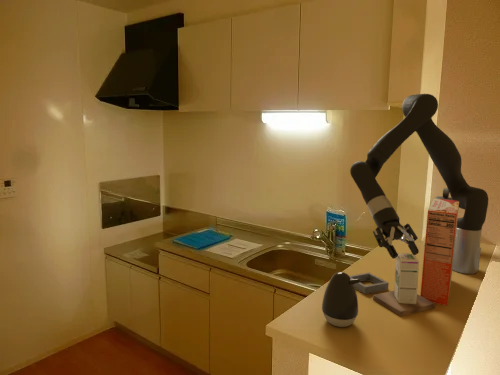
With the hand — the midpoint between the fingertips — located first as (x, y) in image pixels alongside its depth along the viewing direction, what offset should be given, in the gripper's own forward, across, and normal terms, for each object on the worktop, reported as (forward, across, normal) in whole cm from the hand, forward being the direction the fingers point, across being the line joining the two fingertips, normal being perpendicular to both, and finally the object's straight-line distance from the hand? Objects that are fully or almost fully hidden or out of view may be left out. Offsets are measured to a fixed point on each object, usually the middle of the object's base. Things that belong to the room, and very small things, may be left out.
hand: (406, 255), depth 119 cm
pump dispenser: (+13, -26, +10) cm, 31 cm away
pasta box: (+9, +19, +14) cm, 25 cm away
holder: (+1, -2, +22) cm, 22 cm away
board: (+12, 0, +11) cm, 16 cm away
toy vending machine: (-15, +59, +38) cm, 72 cm away
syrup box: (+11, 0, +10) cm, 15 cm away
